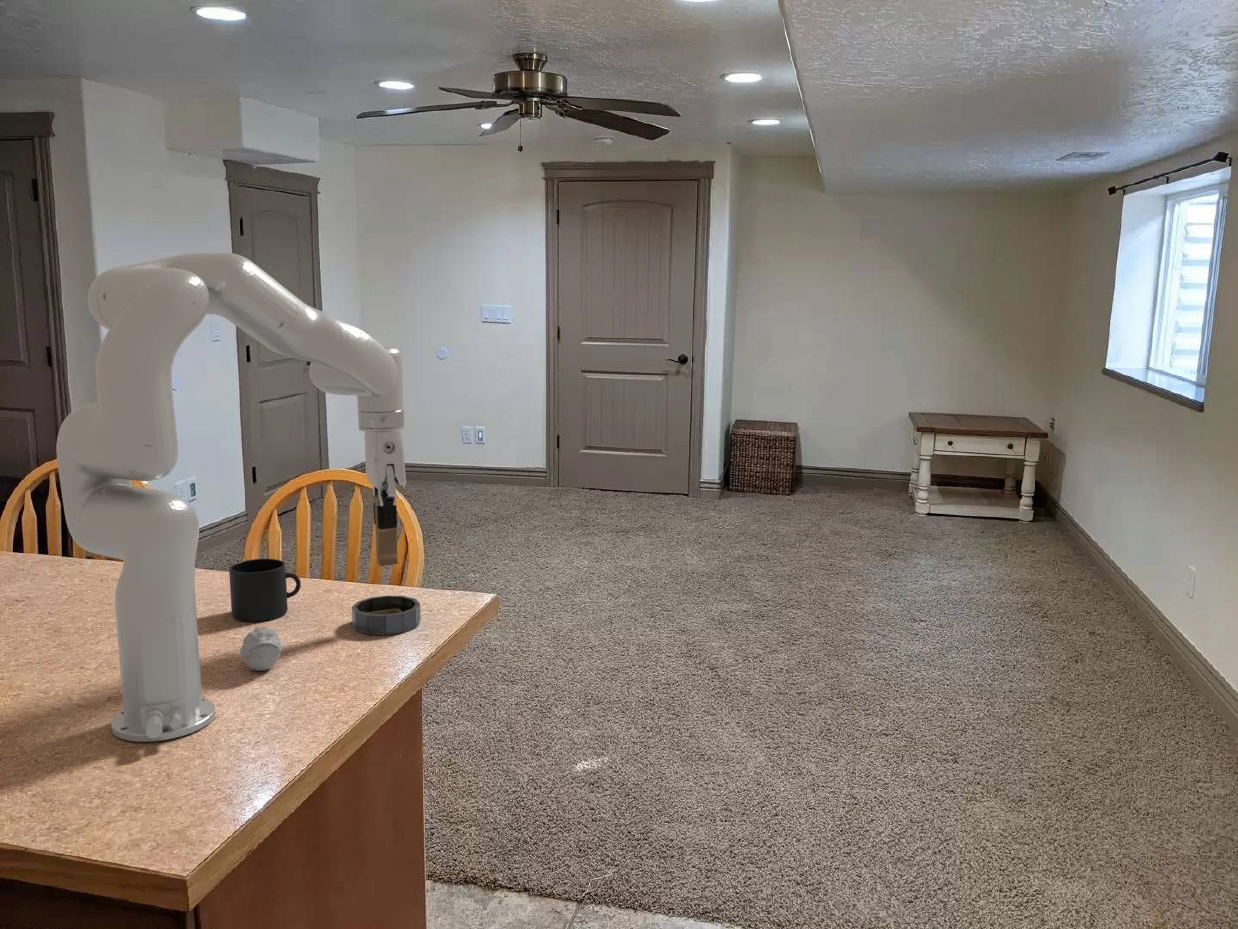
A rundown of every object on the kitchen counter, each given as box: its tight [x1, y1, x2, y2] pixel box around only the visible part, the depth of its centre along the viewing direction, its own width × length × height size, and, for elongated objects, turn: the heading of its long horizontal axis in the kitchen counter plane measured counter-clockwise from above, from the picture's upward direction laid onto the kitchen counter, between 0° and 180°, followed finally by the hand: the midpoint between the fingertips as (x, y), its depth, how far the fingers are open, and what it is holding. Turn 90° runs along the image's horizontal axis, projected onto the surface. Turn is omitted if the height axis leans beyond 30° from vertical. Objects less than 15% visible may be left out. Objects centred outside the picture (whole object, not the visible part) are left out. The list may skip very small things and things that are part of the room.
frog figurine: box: [239, 626, 284, 672], centre depth 148 cm, size 6×7×7 cm
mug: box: [228, 558, 302, 623], centre depth 174 cm, size 9×12×9 cm
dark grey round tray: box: [351, 594, 421, 637], centre depth 170 cm, size 11×11×4 cm
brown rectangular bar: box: [373, 495, 399, 567], centre depth 167 cm, size 2×3×12 cm
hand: (385, 525), depth 167 cm, fingers closed on brown rectangular bar, 2 cm apart
